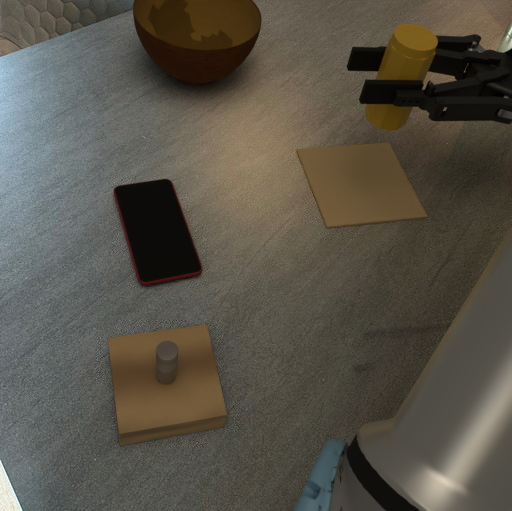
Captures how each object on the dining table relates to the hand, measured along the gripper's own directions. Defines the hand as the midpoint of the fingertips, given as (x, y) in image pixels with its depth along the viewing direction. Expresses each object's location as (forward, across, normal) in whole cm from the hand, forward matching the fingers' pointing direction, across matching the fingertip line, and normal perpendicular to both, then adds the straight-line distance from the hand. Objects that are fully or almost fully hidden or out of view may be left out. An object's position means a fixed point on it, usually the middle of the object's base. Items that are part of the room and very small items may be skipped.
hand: (356, 75), depth 69 cm
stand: (+23, -28, -17) cm, 40 cm away
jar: (-5, 0, -6) cm, 8 cm away
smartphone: (+22, -8, -17) cm, 29 cm away
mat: (-5, 0, -18) cm, 18 cm away
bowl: (+15, +23, -18) cm, 33 cm away
